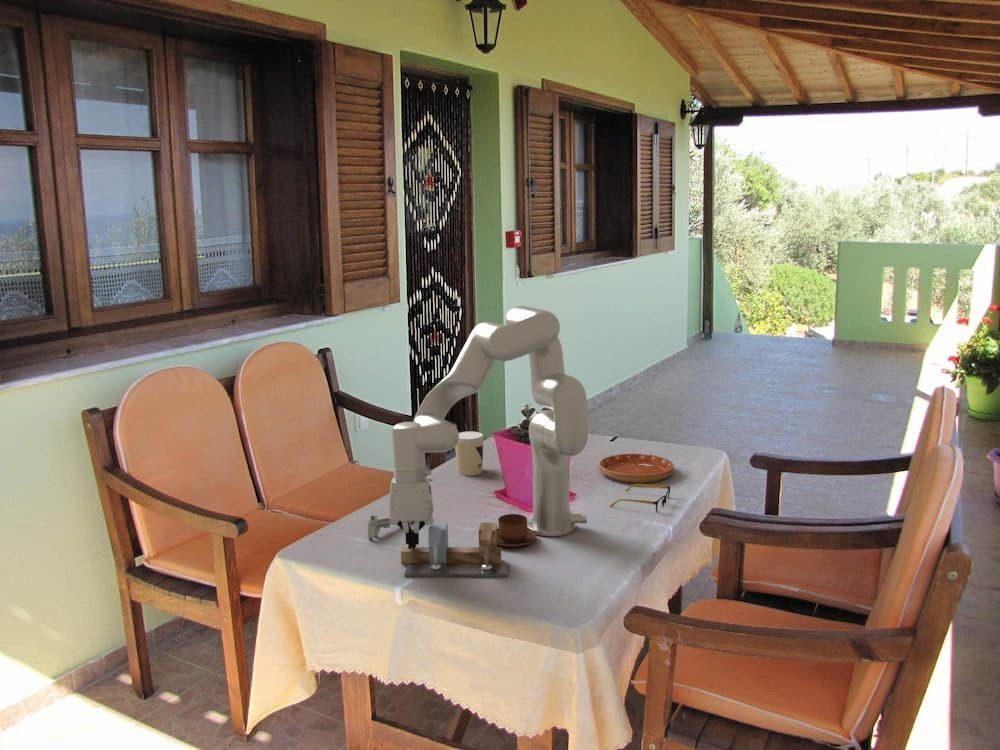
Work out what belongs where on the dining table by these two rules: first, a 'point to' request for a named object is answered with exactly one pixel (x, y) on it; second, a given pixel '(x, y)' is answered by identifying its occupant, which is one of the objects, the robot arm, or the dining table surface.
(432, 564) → the bolt plate
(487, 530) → the beam
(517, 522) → the cup and saucer
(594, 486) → the dining table surface
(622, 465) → the saucer
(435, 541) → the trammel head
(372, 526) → the caliper
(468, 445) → the coffee cup
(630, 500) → the eyeglasses
